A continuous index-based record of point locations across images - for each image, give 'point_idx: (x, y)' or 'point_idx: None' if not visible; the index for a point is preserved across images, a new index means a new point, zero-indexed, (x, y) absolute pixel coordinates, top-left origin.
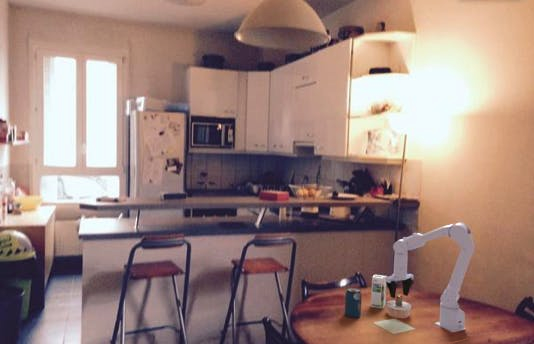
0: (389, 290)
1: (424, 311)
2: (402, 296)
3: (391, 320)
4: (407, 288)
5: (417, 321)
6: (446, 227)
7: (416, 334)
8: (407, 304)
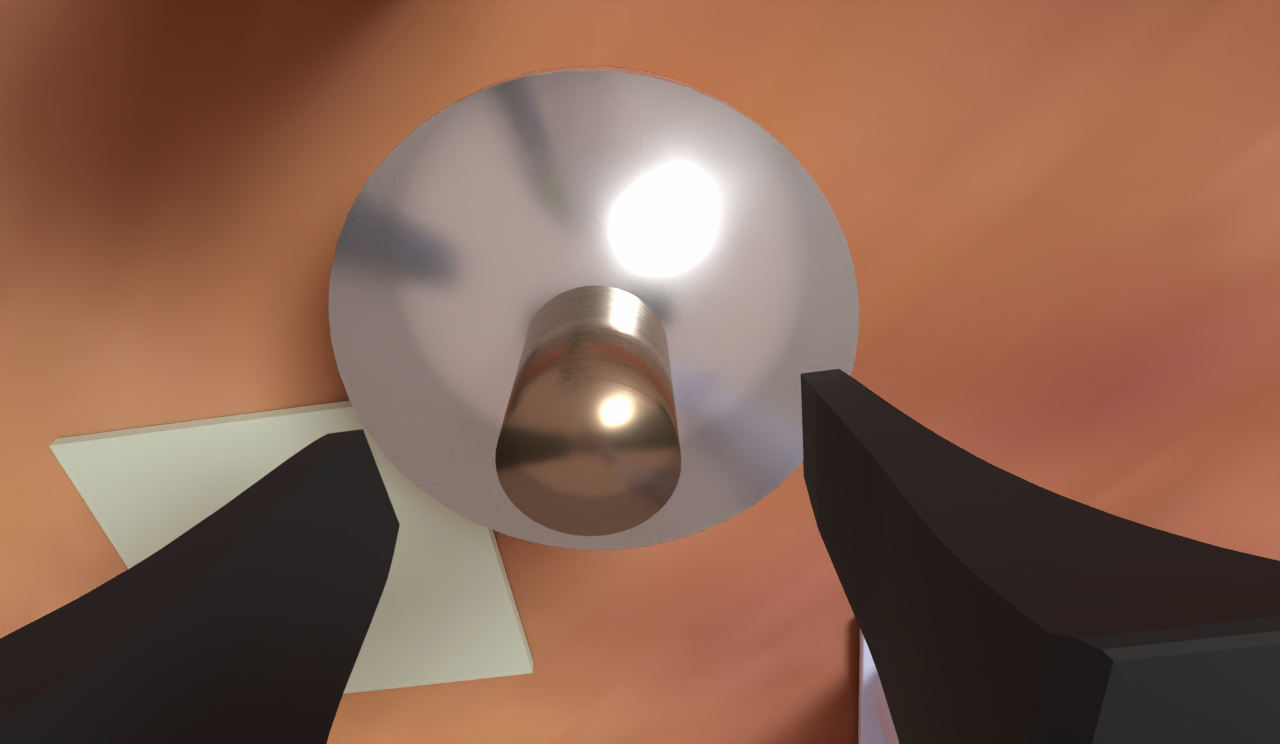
0: (192, 548)
1: (1156, 242)
2: (648, 514)
3: None
4: (879, 650)
5: None
6: None
7: (479, 728)
8: (783, 385)
